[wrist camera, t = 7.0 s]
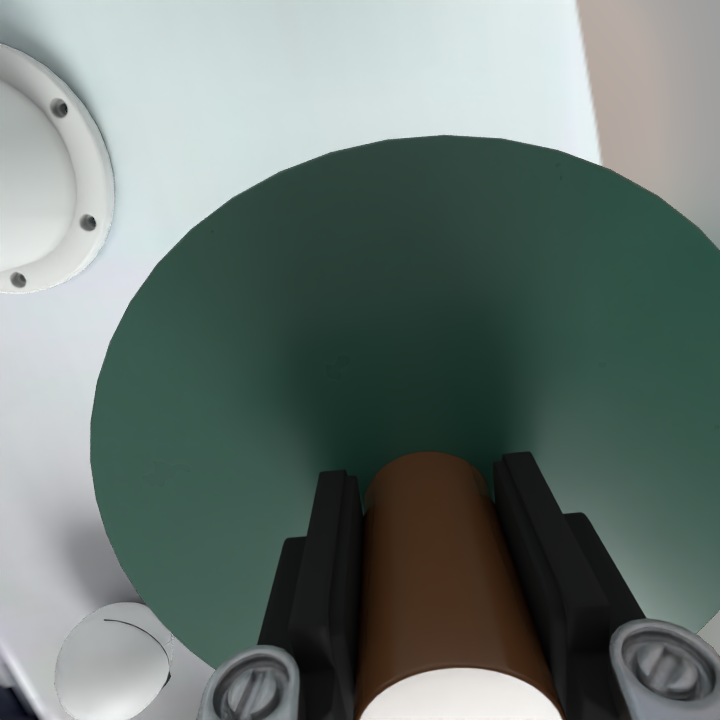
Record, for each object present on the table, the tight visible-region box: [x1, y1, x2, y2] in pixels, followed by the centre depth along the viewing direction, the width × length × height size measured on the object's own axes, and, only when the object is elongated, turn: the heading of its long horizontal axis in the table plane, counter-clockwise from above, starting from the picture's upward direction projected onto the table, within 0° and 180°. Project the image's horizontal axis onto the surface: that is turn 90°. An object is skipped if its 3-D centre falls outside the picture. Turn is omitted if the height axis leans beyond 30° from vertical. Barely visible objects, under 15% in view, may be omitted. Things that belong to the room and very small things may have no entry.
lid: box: [90, 135, 720, 720], centre depth 10 cm, size 15×15×6 cm
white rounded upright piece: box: [54, 602, 175, 720], centre depth 35 cm, size 10×7×7 cm
